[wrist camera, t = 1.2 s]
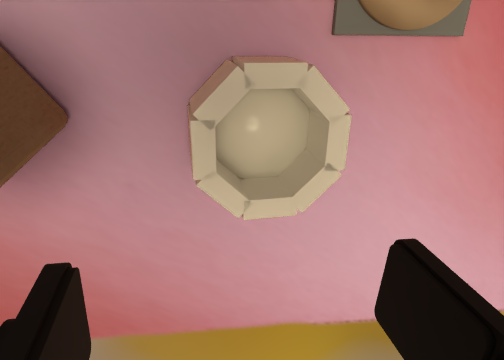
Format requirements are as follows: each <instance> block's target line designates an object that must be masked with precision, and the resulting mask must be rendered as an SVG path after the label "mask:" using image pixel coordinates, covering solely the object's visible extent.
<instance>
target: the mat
mask: <svg viewBox="0 0 504 360" xmlns="http://www.w3.org/2000/svg"><path fill="white" fill-rule="evenodd" d="M470 4H471V0H463V1H462V2H461V3H460V4H459V5H458V6H457V7H456V8H455V9H454V10H453V11H452V12H451V13H450V14H449V15H447V16H446V17H444V18H443V19H442V20H440V21H438V22H436V23H434V24H433V25H430V26H427V27H425V28H420V29H415V30H399V29H392V28H389V27H386V26H383V25H381V24H379V23H378V22H376V21H375V20H373V19H372V18H371V17H370V16H369V15H368V14H367V13H366V12H365V11H364V10H363V8H362V7H361V5H360V4H359V2H358V0H335V6H334V16H333V26H332V34H334V35H417V36H463V33H464V29H465V25H466V21H467V16H468V12H469V8H470Z"/></svg>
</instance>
